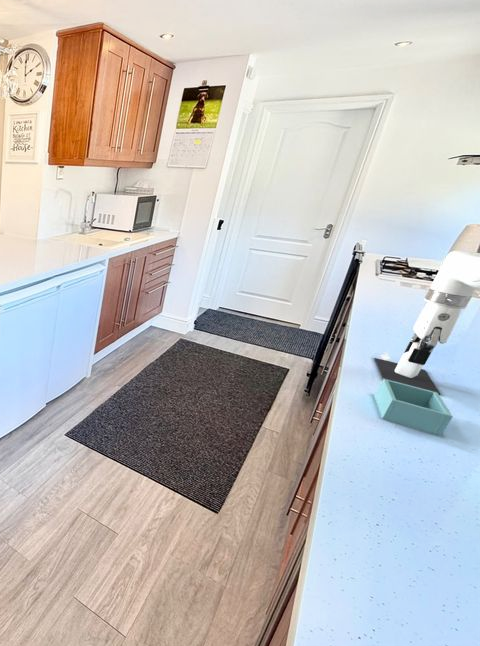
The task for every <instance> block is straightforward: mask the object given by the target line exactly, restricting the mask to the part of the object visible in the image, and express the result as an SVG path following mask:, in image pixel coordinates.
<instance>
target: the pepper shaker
mask: <svg viewBox="0 0 480 646" xmlns="http://www.w3.org/2000/svg"><path fill="white" fill-rule="evenodd" d="M417 346H418V343H417V342H413V344H412V346H411V348H410V350H409V352H406V353H404V352H403V354H402V356H401V358H400V359H399V361H398V362H397V363H398V365H397V367H396V369H395V372H396V373H398V374H400V375H403V376H406V377H409V378H413V377H415V376H417V375H418V373H419V372H420V370H421V369H423V367H424V365H420V364H416V363H412V362H409V361H408V359H409V357H410V355H411V354H412V352H413V350H414V348H417Z"/></svg>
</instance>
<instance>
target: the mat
mask: <svg viewBox="0 0 480 646" xmlns="http://www.w3.org/2000/svg"><path fill="white" fill-rule="evenodd" d="M373 359H374V362H375V364H376V367H377V369H378V371H379V374H380V376H381V379H382V380H383V379H387V380H391V381H395V382H399V383H402V384H406V385H410V386H414V387H418V388H422V389H426V390H429V391H433V392H437V393H438V394H439V396H440V395H441V392H440V391H439V389H438V388H437V386H436V385H435V383H434V382H433V380H432V379H431V377H430V376H429V374H428V372H427V371H426V369H424V368H421V370H420V372H419V373H418V375H417V376H415V377H413V378H409V377H406V376H403V375H400V374H398V373H396V372H395V369H396V367H397V365H398V363H399V362H394V361H390V360H385V359H381V358H378V357H374V358H373Z"/></svg>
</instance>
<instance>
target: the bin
mask: <svg viewBox="0 0 480 646" xmlns="http://www.w3.org/2000/svg"><path fill="white" fill-rule="evenodd" d="M373 397H374V400H375V404H376V405H377V408H378V412H379V414H380V418H381V419H382V420H385V421H389V422H391V423H395V424H399V425H402V426H405V427H409V428H412V429H415V430H418V431H422V432H424V433H429V434H431V435H435V436H438V437H441V436H442V435H443V433H444V431H445V430H446V428H447V427H448V425H449V423H450V422H451V420H452V419H453V414H452V413H451V411H450V410H449V408H448V407H447V405H446V403H445V402H444V400H443V399H442V398H441V396H440V395H439V394H438V393H437V392H433V391H429V390H426V389H422V388H418V387H414V386H410V385H406V384H402V383H399V382H395V381H391V380H387V379H382V380H381V382H380V384H379V386H378V388H377V390H376V392H375V393H374V396H373Z"/></svg>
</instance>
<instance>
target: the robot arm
mask: <svg viewBox="0 0 480 646" xmlns="http://www.w3.org/2000/svg"><path fill="white" fill-rule="evenodd" d="M476 290H480V252H476V251H468V250H453V251H450V252H449V253H448V254H447V255H446V256H445V258H444V260H443V262H442V264H441V266H440V268H439V270H438V272H437V273H436V276H435V277H434V279H433V281H432V283H431V285H430V287H429V289H428V290H427V293H426V294H425V296H424V298H423V301H425V302H426V303H425V304H424V307H423V308H422V310H421V312H420V314H419V315H418V317H417V319H416V321H415V323H414V325H413V328H412V329H413V331H414V334H413V336H412V337H411V339H410V341H409V342H408V345H407V346H406V348H405V350H404V352H403V354H404V353H406V352H409V350H410V348H411V346H412V344H413V342H417V343H418V346H417V348H414V350H413V352H412V354H411V355H410V357H409V359H408V361H409V362H412V363H416V364H420V365H423V366H425V365H426V363H427V361H428V359H429V358H430V356H431V354H432V353H433V351H434V349H435V347H437V345H438V343H439V344H441V345H444V344H446V343H447V342H448V340H449V337H450V336H451V334H452V332H453V330H454V328H455V326H456V324H457V322H458V319H459V317H460V314H461V310H465V309H466V307H468V304H469V303H470V301H471V299H472V297H473V295H474V294H475V292H476Z"/></svg>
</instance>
